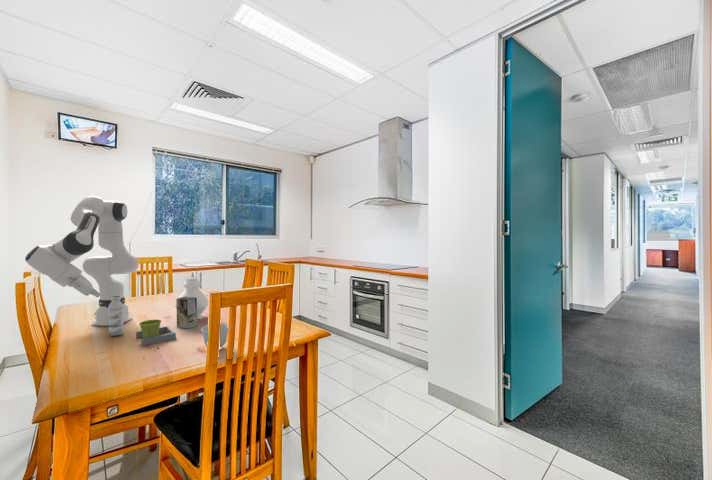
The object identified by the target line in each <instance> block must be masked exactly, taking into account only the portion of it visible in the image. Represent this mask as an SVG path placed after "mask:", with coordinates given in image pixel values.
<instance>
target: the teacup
mask: <svg viewBox="0 0 712 480" xmlns="http://www.w3.org/2000/svg"><path fill="white" fill-rule="evenodd" d="M219 324H220V347H223V346H224V345H225V344H226V343H227V341H228V340H227V339H228V332H229V329H228V326H230V325H229V324H227V323H219ZM200 330H201V332H202V334H203V340H204V341H203V342H204V345H205V347H206V348H208V347H207V342H208V324H206V325H205V326H203V327H202V328H201V329H200Z"/></svg>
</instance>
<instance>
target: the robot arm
mask: <svg viewBox="0 0 712 480" xmlns="http://www.w3.org/2000/svg"><path fill="white" fill-rule="evenodd" d="M127 216H128V207H127V204H125V203H124V202H122V201H117V200H115V201H113V200H103V199H102V198H101V197H99V196H96V195H95V196H94V195H90V196H89V195H88V196H86V197H85V198H83V199H82V200H81V201H80V202H79V203H78V204H77V205H76V206H75V208H74V209H73V211H72V212H71V215H70V221H71V223H72V224H73V225H74V226H75V227H77V228H76V229H75V230H73V231H70V232H69V233H68V234H66V236H65V237H63V238H62V239H60V240H59V241H57V242H56V243H52V244H48V245H36V246H35V247H34V248H33V249H32V250H30V251H29V252H28V253H27V254H26V256H25V258H24V260H25V262H26V264H27V265H29V266H30V267H31V268H32V269H34V270H35V271H37V272H38V273H40V274H42V275H45V276H47V277H49V278H50V280H52V281H53V282H55V283H57V284H58V285H60V286H61V287H63V288H65V287H69V288H73V289H75V290H76V291H78V292H79V293H81V294H82V295H84V296H86V297H88V296H89V295H92V296H94V297H96V298H99V299H98V306H99V307H98V308H97V309H95V311H94V315H93V316H95V317H94V320H93V321H92V322H91V324H90V325H91V326H92V327H93V326H102V327H103V326H105V327H106V326H109V322H110V318H109V312H108V306H109V304H110V303H111V302H112V301H111V297H113V296H120V299H121V300H120V301H121V302H122V304H123V306H124V309H123V316H122V317H123V323H126V322H129V321H132V320H133V317H132V316H129V306H128V305H127V304H126V297H125V285H124V283H123V282H121V281H119V280H117V279H114V277H112V275H127V274H128V275H129V274H131V273H135V272H136V271H137V270H138V268H139V265H140V263H139V259H138V258H137V256H136V257H135V256H134V255H132V254H131V253H130V252H129V251H128V250H127V249H126V247H125V243H124V235H123V233H124V232H123V223H122V221H123V220H125V219H126V218H127ZM96 230H97V235H98V237H97V238H98V246H99V247H100V248H101V249H103V250H106V251H109V253H111V255H95V256H89V257H87V258H85V260H84V261H83V262H82V270H81V269H80V268H79V267H77V266H75V265H74V264H72V262H74V261H75V260H77V259H78V258H80V257H81V256H83V255H84V254H86V253H89V252H90V251H91V250H92V249H93V248H94V245H95V243H94V242H95V241H94V237H95V234H96V233H95V232H96ZM83 272H84V273H85V274H86V275H88V276H89V277H91V278H93V279H94V280H95V282H96V283H97V285H98V291H97V290H96V289H95V288H94V286H93V284H92V282H91V281H90V280H89V279H87V278H86V277H85V276H84V275H83V274H82V273H83Z"/></svg>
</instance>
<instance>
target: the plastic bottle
mask: <svg viewBox="0 0 712 480" xmlns="http://www.w3.org/2000/svg"><path fill="white" fill-rule="evenodd" d="M120 300H121V299H120V296H113V297H111V301H112V302H111V303H110V304H109V306H108V312H109V318H110V322H109V325H108V336H111V337H116V336H117V337H118V336H120V335H123V334H124V333H125V326H124V322H123V317H122V316H123V309H124V306H123V304H122V302H121V301H120Z"/></svg>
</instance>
